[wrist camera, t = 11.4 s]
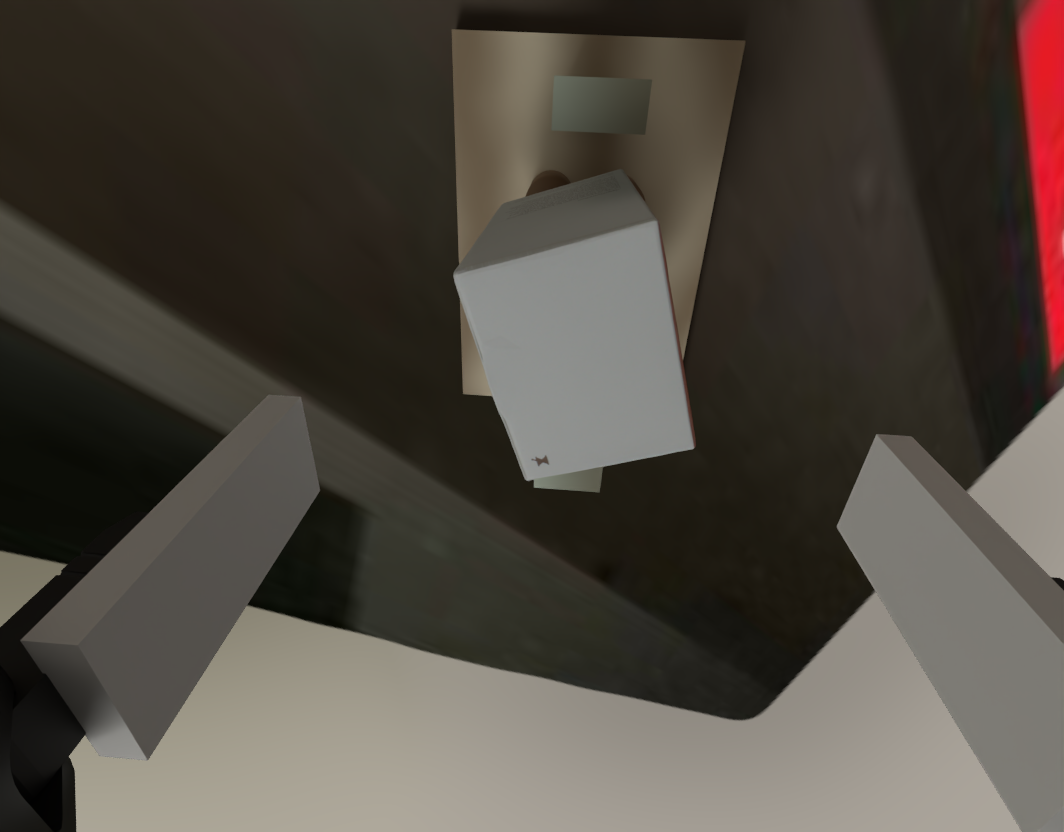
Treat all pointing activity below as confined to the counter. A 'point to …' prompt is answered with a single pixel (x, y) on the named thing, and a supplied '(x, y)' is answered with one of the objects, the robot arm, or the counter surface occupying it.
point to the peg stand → (592, 142)
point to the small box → (578, 328)
